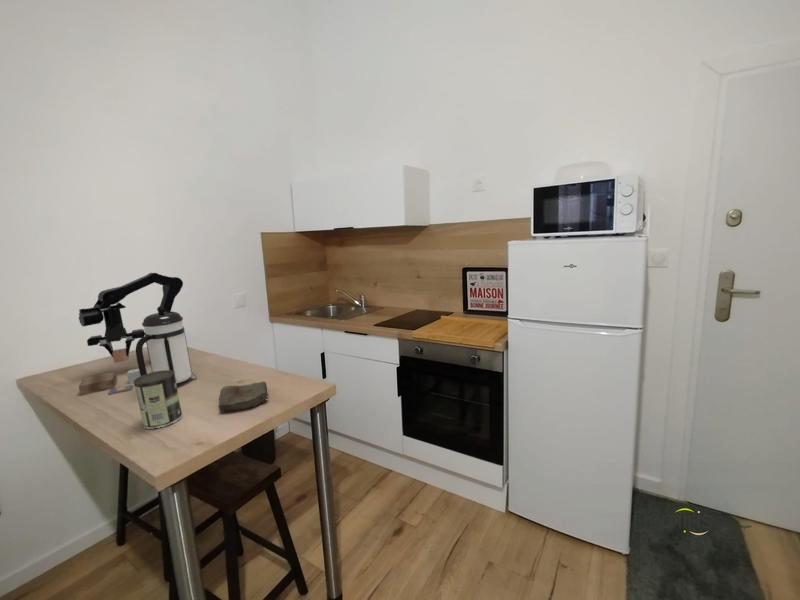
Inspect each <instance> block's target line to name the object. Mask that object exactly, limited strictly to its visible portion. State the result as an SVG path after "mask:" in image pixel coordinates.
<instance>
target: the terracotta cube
mask: <svg viewBox="0 0 800 600" xmlns="http://www.w3.org/2000/svg"><path fill="white" fill-rule="evenodd" d="M113 350H114V351H113V352H112V354H113V357H112V358H113V363H114V364H116V363H117V364H118V363H122V362H128V360H129V359H130V356H127V353H126V347H125V348H118V349H113Z"/></svg>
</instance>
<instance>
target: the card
mask: <svg viewBox="0 0 800 600" xmlns="http://www.w3.org/2000/svg"><path fill="white" fill-rule="evenodd" d="M133 387H134V384H129V385H124V386H120V387H115V388H114V389H109V391H108V393H107V395H108V396H110V395H114V394H120V393H124V392H129V391H132V389H133Z"/></svg>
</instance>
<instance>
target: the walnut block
mask: <svg viewBox="0 0 800 600" xmlns="http://www.w3.org/2000/svg"><path fill="white" fill-rule="evenodd" d="M117 382H118V377H117V373H116V371H111V372H108V373H103V374H98V375H93V376H88V377H83V378H82V381H80V383H79V385H78V389H79V393H80V396H86V395H92V394H96V393H100V392H105V391H108V390H109V391H110V389H114V388H116V386H117Z"/></svg>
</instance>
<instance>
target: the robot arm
mask: <svg viewBox="0 0 800 600" xmlns="http://www.w3.org/2000/svg"><path fill="white" fill-rule="evenodd" d="M154 283H155V284H158V285H161V286H162V294H163V296H162V299H161V301H160V305H159V306H162V307H164V311H163V312H172V308H173V305H174V302H175V298H176V297H177V296H178V294H179V293H180V292H181V290H182V288H183V286H184V282H183V280H182V279H181V278H179V277H178V276H166V275H162V274H160V273H157V272H149V273H147V274H146V275H144V276H142V277H139V278H137V279H135V280H132V281H130V282H128V283H125V284H123V285H121V286H116V287H113V288H108V289H105V290H102V291H100V292H99V293H98V294H97V301H96V302H95V304H94V305H93V307H90V308H80V309H78V311H79V313H78V321H79V324H80V325H81V326H82V327H87V326H93V325H98V324H99V325H100V324H101V323H102V322H103V321H104V324H105V330H104V331H105V332H104V336H102V335H101V334H100V335H99V334H98V335H92V336H90V337H89V338H88V339H87V340H86V343H87V344H86V345H87V347H91V346H97V345H98V344H99V347H103V348H104V349H106V350H107V351H108V353H109V354H110V356H111V357H112V358H113V354H112V352H113V351H114V350H115V349H114V348H113V345H112V343H113V342H120V341H122V339H125V348H126V353H127V356H129V355H130V350H131V346H132V343H133V342H134V341H135V340H136V339H141V338H142V337H144V336H145V330H144V328H139V329H133V330H132V331H131V332H128V331H127V329H126V327H124V323H123V322H124V321H123V318H122V313H121V312H122V311H121V309H126V305H123V304H122V303H121V301H122V300H124V299H125V298H126V297H127V296H129V295H130V294H132V293H135V292H136V291H137V292H138V291H139V290H141V289H143V288H145V287H148V286H150V285H152V284H154ZM157 313H159V312H158V311H157ZM129 357H130V356H129Z"/></svg>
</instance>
